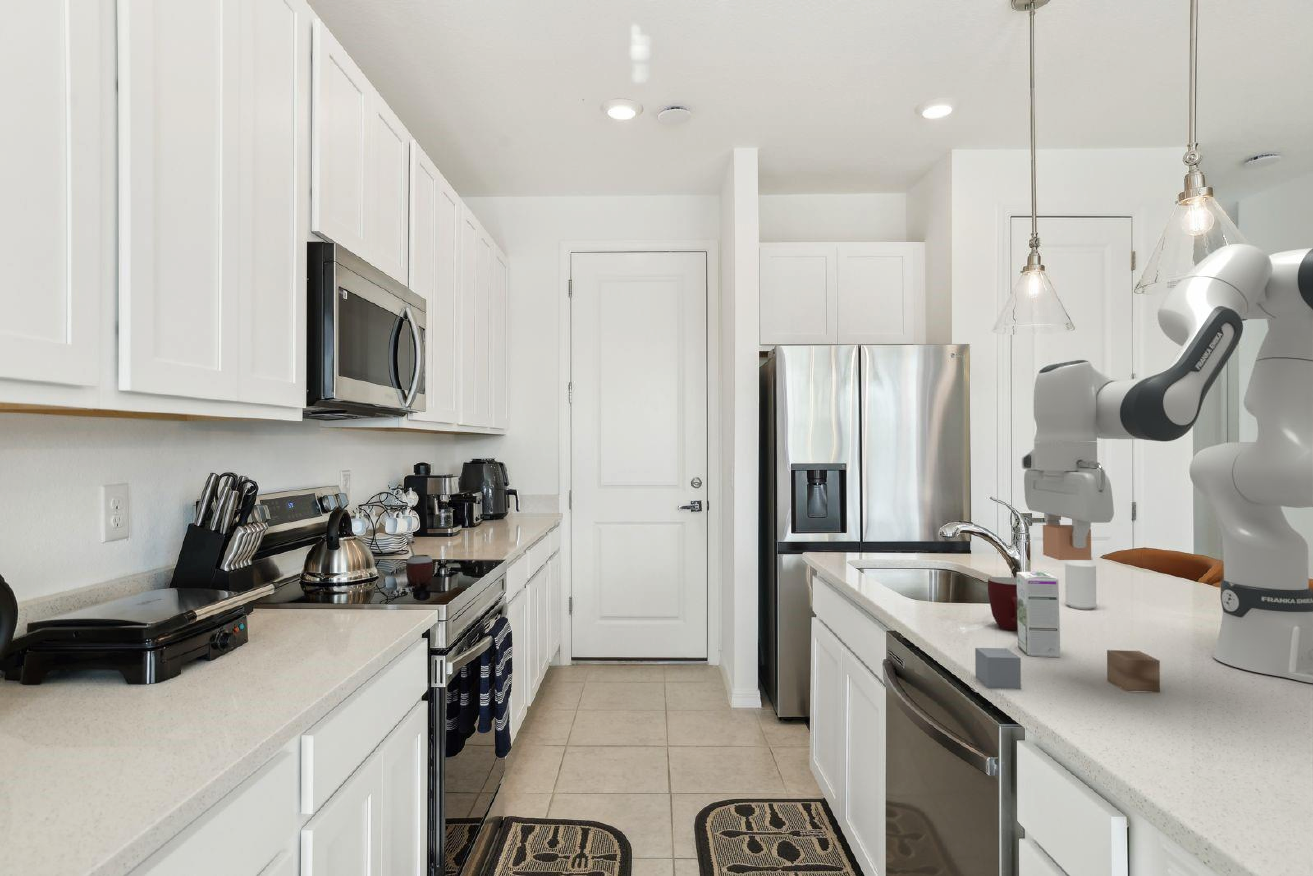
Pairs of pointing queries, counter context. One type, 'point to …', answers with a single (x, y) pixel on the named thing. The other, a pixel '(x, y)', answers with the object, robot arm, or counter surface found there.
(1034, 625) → the syrup box
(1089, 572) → the white cylinder
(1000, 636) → the counter surface
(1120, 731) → the counter surface
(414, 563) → the mate gourd
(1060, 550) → the terracotta block
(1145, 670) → the walnut block
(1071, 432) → the robot arm
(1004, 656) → the slate block
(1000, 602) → the mug
